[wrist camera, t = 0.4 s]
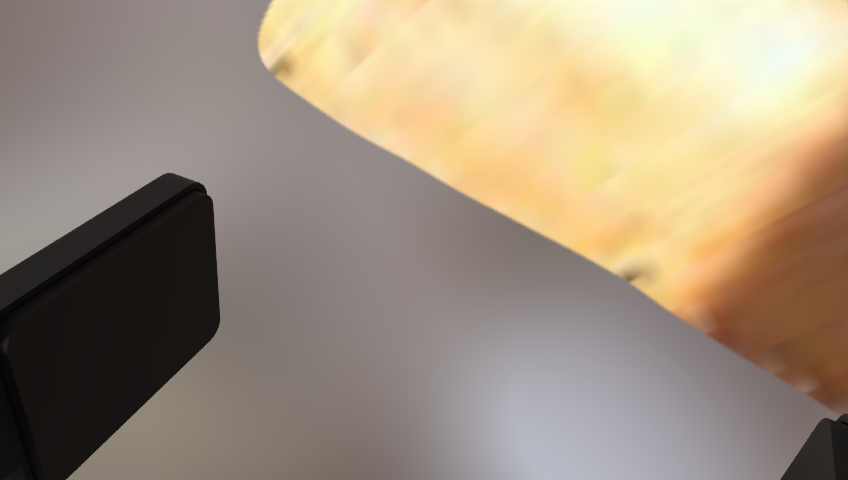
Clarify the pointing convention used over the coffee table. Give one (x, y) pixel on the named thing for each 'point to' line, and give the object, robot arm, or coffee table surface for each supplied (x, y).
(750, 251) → the coffee table surface
